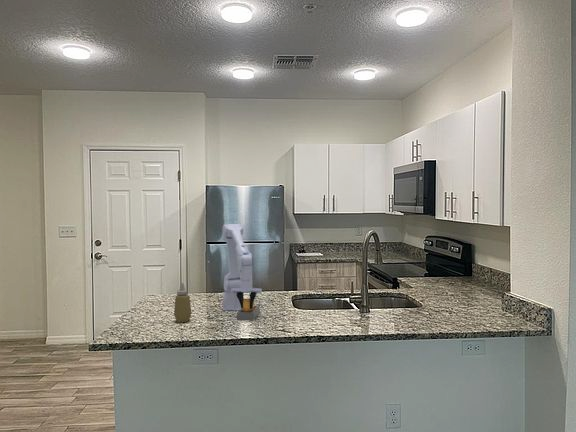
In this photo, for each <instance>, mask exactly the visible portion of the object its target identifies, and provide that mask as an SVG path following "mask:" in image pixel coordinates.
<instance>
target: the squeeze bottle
mask: <svg viewBox="0 0 576 432" xmlns="http://www.w3.org/2000/svg"><path fill="white" fill-rule="evenodd" d="M176 292H177V294H176V296H174V297H175V298H174V311H173V315H174V317H175V321H176V322H177V323H186V322H187V323H188V322H189V321H190V320H191V316H192V306H191V298H190V297H191V296H190V294H188V290H187V289H186V288H185V284H184V282H180V285H179V290H177V291H176Z"/></svg>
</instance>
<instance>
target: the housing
mask: <svg viewBox="0 0 576 432" xmlns="http://www.w3.org/2000/svg"><path fill="white" fill-rule="evenodd" d="M260 307H261V306H260V305H255V301H254V302H253V308H252V309H251V312H243V308H241V309H240V310H237V312H236V320H237V321H255V319H256V318H257V317H258V316H259V314H260V313H261V311H260Z"/></svg>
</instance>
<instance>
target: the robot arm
mask: <svg viewBox="0 0 576 432" xmlns="http://www.w3.org/2000/svg"><path fill="white" fill-rule="evenodd" d="M243 225H244V224H242V223H231V224H229V223H228V224H227V223H226V224H225V223H224V224H223V225H222V231H221V232H222V239H223V241H225V243H226V247H227V248H226V249H227V251H226V252H227V262H228V273H227V274H225V276H224V277H223V290H224V291H223V293H222V309H221V310H222V311H239V310H240V309H241V308H243V299H244V295H245V294H249V299H250V309H252V308H253V302H254V303H255V299H256V296H257V294H262V293H263V289H262V288H257V287H253V266H254V263H255V261H254V260H255V257H254V255H253V254H252V253H251V252H250V250H249V248H248V245H247V244H246V243H245V242H244V240H243V235H244V226H243Z"/></svg>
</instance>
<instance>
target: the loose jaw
mask: <svg viewBox="0 0 576 432" xmlns="http://www.w3.org/2000/svg"><path fill="white" fill-rule="evenodd" d="M243 312H251V309H250V298H243Z"/></svg>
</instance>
